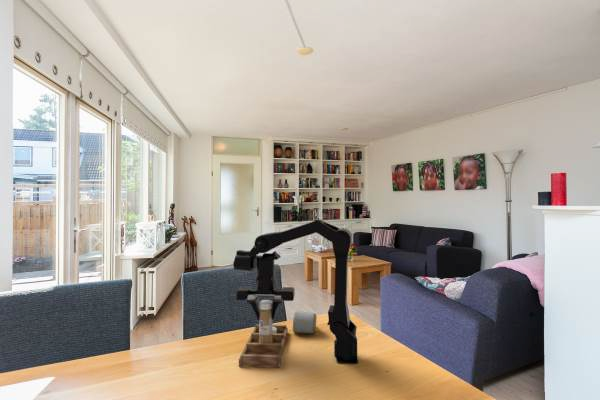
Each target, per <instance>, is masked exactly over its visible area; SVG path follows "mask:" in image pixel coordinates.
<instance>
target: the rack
mask: <svg viewBox="0 0 600 400" xmlns="http://www.w3.org/2000/svg"><path fill="white" fill-rule="evenodd" d="M272 325H273V332H272V340H273V342H272V343H271V344H270V343H259V324H258V323H255V326H254V328H253V330H252V332H251V333H250V336H249V337H248V340H247V342H246V344H245V347H244V348H243V351H242V352H241V354H240V357H239V358H238V367H241V368H245V367H246V368H269V369H270V368H271V369H279V368H280V367H281V363H282V358H283V353H284V351H285V346H286V342H287V336H288V332H289V331H288V329H289V327H287V324H272Z"/></svg>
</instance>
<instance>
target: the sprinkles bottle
mask: <svg viewBox="0 0 600 400" xmlns="http://www.w3.org/2000/svg"><path fill="white" fill-rule="evenodd" d="M272 308H273V301H272V300H270V299H263V300H259V320H258V321H259V343H270V344H271V343H272V342H273V340H272V332H273V325H274V324H273V320H272Z"/></svg>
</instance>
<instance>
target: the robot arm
mask: <svg viewBox="0 0 600 400" xmlns="http://www.w3.org/2000/svg"><path fill="white" fill-rule="evenodd" d="M315 233H316V234H318V235H319V236H321V237H323V238H324V239H325V240H327V241H329V242H331V244H332V251H333V254H334V261H335V262H334V263H335V265H334V267H335V268H334V269H335V270H334V273H335V274H334V299H333V300H334V303H333V305H331V304H330V305H329V308H328V311H327V316H328V322H327V324H326V326H329V330H330V332H331V333H332V334H333V335H334V337H335V340H333V343H334V344H333V351H334V352H333V355H334V358H335V360H336V361H335V362H336V363H339V364H340V363H342V364H358V363H359V359H358V358H359V357H358V337H357V325H356V324H355V323H354V322H353V321H352V320H351V316H350V311H349V310H350V309H349V305H348V270H349V269H348V268H349V267H348V266H349V262H348V261H349V256H350V251H351V247H352V246H351V245H352V242H353V241H352V240H353V235H352V232H351V231H350V230H349V229H348V228H345V227H344V228H339V227H338V226H335V225H333V224H331V223H328V222H326V221H324V220H322V219H320V218H317V219H315V220H313V221H310V222H306V223H305V224H301V225H299V226H295V227H292V228H289V229H286V230H282V231H274V232H267V233H264V234H260V235H258V236H256V238H255V240H254V244H253V247H252V248H250V249H251V250H243V249H239V250H238V249H237V250H236V253H235V254H236V255H235V257H234V260H233V262H232V263H233V270H235V271H236V272H250V273H252V272H253V271H255V269H256V278H255V285H256V289H252V286H240V287H239V288H238V289H237V290H236V292H235V300H237V301H246V303H248V304H250V306H251V307H252V309H253V311H254V313H255V316H256V318H257V320H258V321H259V302H260V297H274V299H273V301H272V302H273V308H272V321H274V319H275V316H276V312H277V309H278V306H279V304H282V303H283V302H293V301H294V299H295V297H296V296H295V295H296V294H295V293H296V291H295V288H294V287H293V286H291V287H290V286H286V287H285V286H284V287H282V288H281V290H280V289H277V278H276V276H275V261H277V260H279V259H280V258H281V255H280V254H278V252H277V251H276V250H274V251H273V252H272V253H271V252H270V251H272V250H273V249H276V248H278V247H279V246H281V245H282V244H284V243H288V242H290V241H294V240H297V239H300V238H303V237H307V236H310V235H313V234H315ZM268 252H269V253H268ZM260 254H262V255H260ZM276 289H277V290H276Z"/></svg>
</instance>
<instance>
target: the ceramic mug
mask: <svg viewBox="0 0 600 400" xmlns="http://www.w3.org/2000/svg"><path fill="white" fill-rule="evenodd" d="M316 329H317V314H316V313H315V312H313V311H305V310H299V309H295V311H294V313H293V319H292V332H293V333H299V334H300V333H301V334H314V333H316Z"/></svg>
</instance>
